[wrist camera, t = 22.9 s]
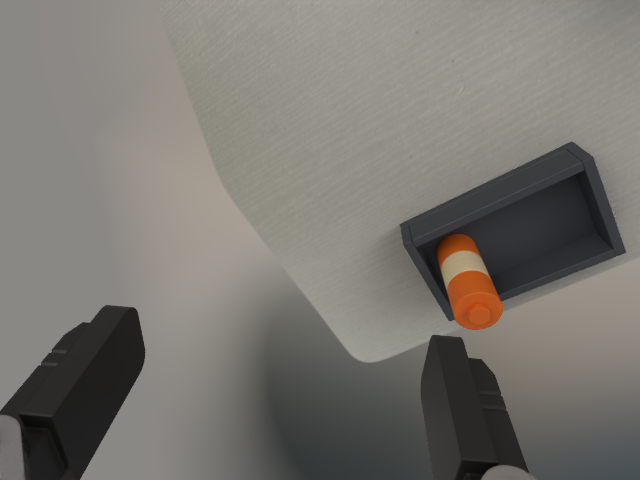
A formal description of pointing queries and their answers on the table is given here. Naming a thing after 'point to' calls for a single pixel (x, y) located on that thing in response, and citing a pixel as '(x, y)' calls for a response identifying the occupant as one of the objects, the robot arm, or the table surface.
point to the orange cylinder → (468, 283)
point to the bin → (523, 225)
